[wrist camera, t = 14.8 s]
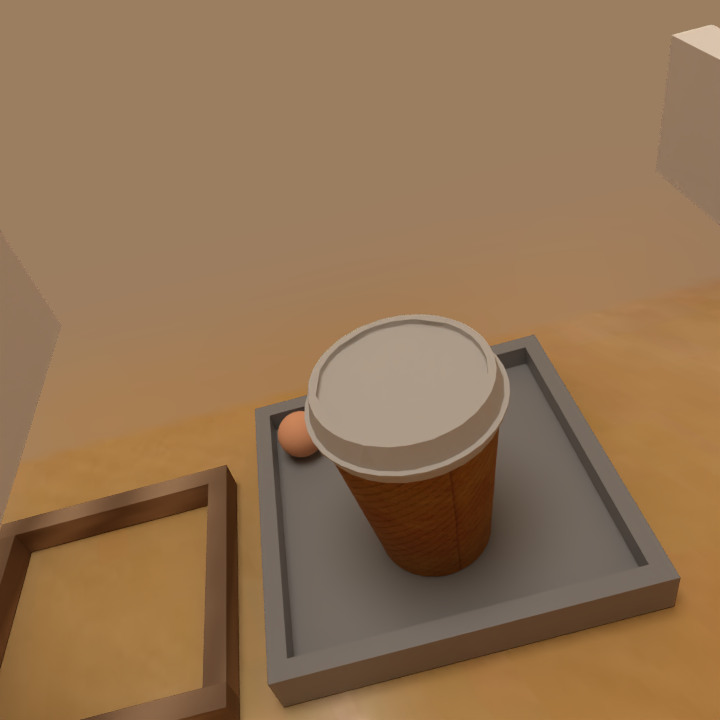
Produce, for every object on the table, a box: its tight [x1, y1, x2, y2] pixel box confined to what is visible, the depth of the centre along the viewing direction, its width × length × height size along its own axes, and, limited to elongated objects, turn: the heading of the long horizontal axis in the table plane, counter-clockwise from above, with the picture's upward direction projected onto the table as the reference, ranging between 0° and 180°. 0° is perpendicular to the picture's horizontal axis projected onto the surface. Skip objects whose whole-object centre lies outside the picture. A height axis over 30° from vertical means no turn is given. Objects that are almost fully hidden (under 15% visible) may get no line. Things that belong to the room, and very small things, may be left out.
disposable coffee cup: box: [304, 314, 510, 577], centre depth 33 cm, size 10×10×12 cm
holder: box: [0, 465, 240, 720], centre depth 38 cm, size 15×15×2 cm
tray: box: [255, 335, 680, 707], centre depth 39 cm, size 20×19×3 cm
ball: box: [278, 411, 318, 457], centre depth 43 cm, size 3×3×3 cm
